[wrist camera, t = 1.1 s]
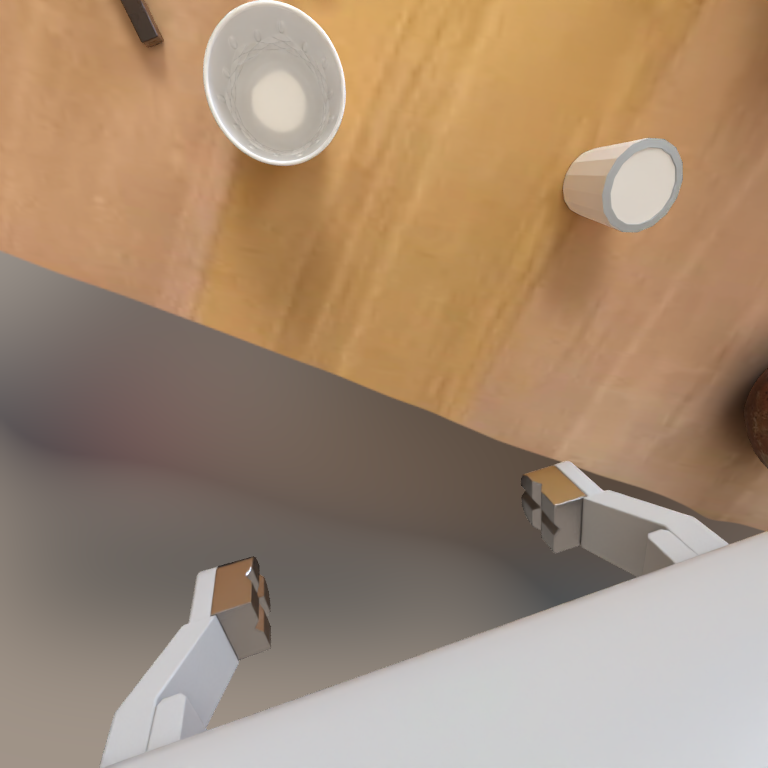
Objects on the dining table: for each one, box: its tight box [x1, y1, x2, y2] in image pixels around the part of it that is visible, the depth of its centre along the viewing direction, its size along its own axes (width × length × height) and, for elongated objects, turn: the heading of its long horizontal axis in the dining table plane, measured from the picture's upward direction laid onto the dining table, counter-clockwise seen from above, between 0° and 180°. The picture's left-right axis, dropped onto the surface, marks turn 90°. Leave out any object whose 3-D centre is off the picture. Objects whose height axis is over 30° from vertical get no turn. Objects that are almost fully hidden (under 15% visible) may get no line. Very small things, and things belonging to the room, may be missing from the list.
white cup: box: [203, 0, 346, 166], centre depth 30 cm, size 8×8×10 cm
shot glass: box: [563, 138, 683, 232], centre depth 38 cm, size 7×7×7 cm
